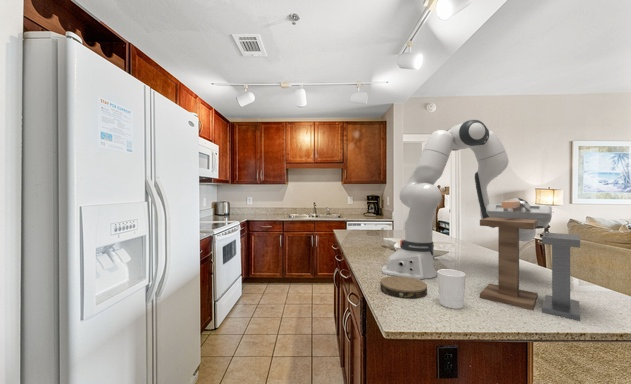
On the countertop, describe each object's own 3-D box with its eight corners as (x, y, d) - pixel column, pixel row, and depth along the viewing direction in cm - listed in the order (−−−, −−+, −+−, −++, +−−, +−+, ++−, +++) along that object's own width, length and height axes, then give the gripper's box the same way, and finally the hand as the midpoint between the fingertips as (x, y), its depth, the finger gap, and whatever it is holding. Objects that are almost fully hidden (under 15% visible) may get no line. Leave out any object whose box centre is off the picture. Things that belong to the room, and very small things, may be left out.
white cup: (464, 312, 80) (464, 277, 80) (435, 306, 84) (435, 273, 84) (466, 303, 87) (466, 271, 87) (439, 297, 91) (439, 267, 91)
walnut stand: (489, 287, 101) (489, 217, 101) (537, 297, 92) (537, 219, 92) (479, 298, 91) (479, 219, 91) (533, 310, 81) (533, 222, 81)
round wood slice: (435, 292, 97) (435, 283, 97) (412, 303, 87) (412, 294, 87) (396, 281, 109) (396, 273, 109) (371, 290, 99) (371, 282, 99)
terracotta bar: (511, 205, 105) (512, 200, 105) (521, 206, 103) (521, 200, 103) (501, 208, 89) (501, 201, 89) (512, 208, 87) (512, 202, 87)
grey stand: (545, 299, 90) (545, 232, 90) (579, 306, 85) (579, 234, 85) (542, 312, 80) (542, 237, 80) (580, 321, 74) (580, 240, 75)
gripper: (490, 210, 118) (483, 194, 109) (553, 213, 104) (551, 195, 95) (488, 224, 115) (481, 209, 107) (552, 228, 101) (550, 211, 93)
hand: (514, 202), depth 101 cm, fingers closed on terracotta bar, 3 cm apart
